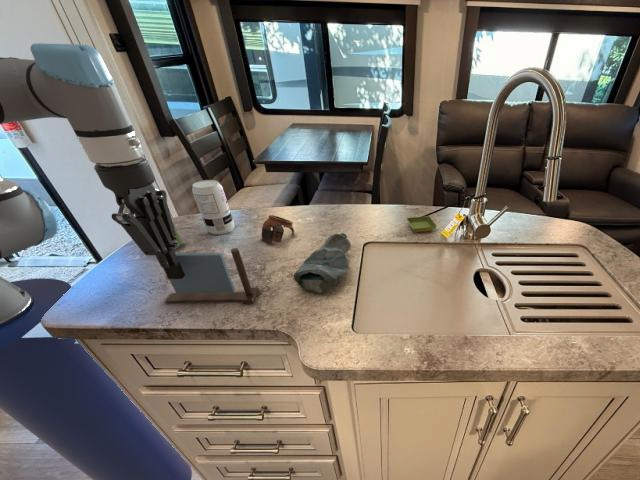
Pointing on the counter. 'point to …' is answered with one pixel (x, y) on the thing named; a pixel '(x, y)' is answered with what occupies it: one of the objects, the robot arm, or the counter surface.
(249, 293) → the brown l-shaped stand
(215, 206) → the supplement can
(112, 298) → the counter surface
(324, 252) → the grey soft lump
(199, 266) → the door
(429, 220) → the green square dish
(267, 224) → the brown piece
